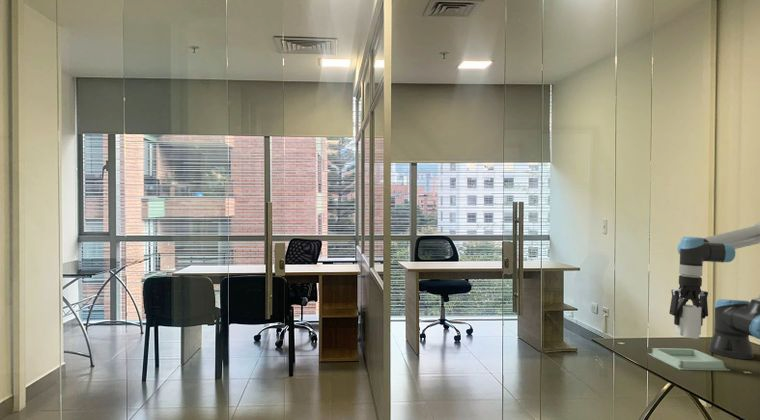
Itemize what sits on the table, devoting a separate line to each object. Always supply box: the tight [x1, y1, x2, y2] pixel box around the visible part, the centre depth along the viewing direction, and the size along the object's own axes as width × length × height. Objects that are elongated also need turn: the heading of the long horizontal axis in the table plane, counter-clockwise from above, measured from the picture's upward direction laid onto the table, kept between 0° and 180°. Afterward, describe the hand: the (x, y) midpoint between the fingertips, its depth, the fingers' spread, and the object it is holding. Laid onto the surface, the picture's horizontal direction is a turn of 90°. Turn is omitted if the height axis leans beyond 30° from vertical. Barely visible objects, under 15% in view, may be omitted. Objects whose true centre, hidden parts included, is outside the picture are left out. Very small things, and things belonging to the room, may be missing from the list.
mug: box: [679, 303, 702, 340], centre depth 177 cm, size 10×7×12 cm, turn 147°
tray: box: [647, 347, 731, 372], centre depth 177 cm, size 20×18×3 cm
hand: (687, 333), depth 177 cm, fingers closed on mug, 7 cm apart
